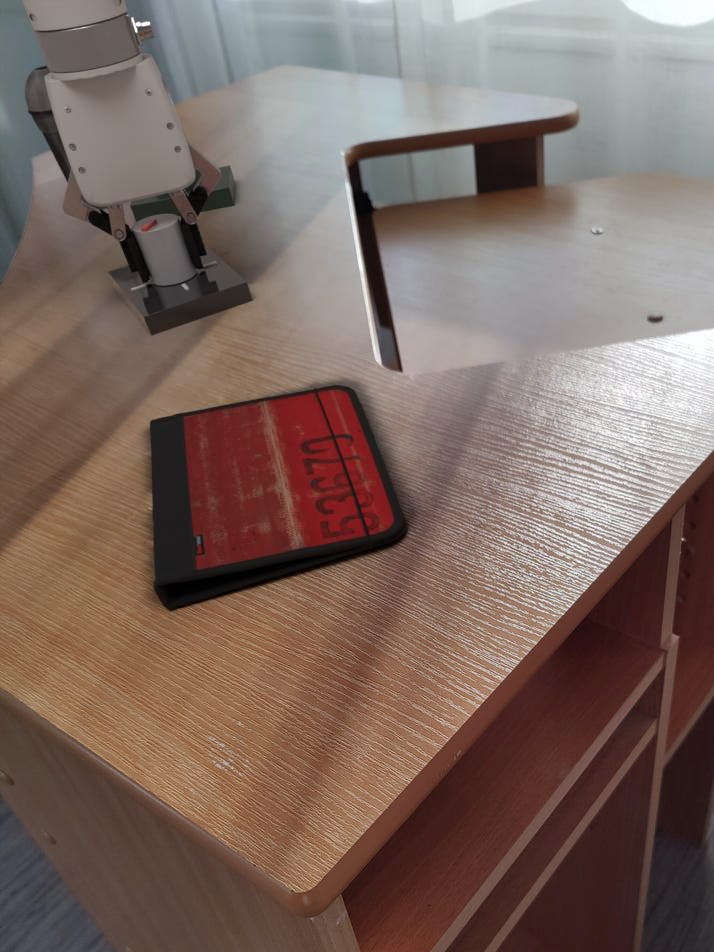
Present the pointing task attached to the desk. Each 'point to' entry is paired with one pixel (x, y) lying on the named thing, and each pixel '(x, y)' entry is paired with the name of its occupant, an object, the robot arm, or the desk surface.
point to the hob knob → (164, 249)
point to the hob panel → (182, 294)
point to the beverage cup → (47, 118)
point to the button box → (164, 204)
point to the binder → (265, 491)
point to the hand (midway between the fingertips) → (171, 268)
